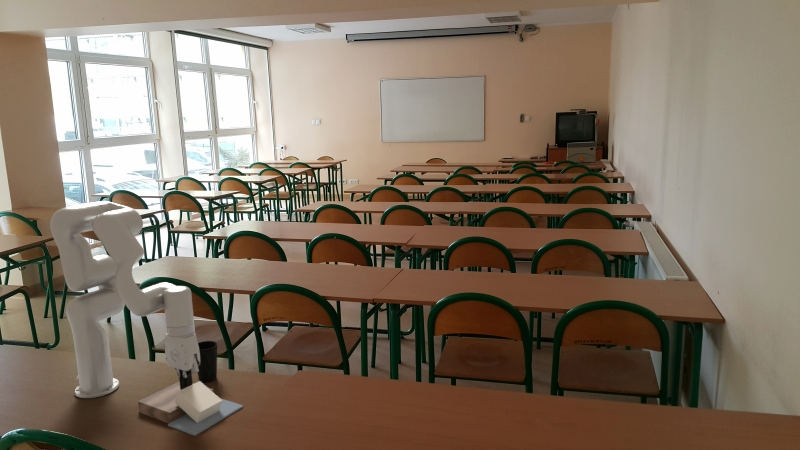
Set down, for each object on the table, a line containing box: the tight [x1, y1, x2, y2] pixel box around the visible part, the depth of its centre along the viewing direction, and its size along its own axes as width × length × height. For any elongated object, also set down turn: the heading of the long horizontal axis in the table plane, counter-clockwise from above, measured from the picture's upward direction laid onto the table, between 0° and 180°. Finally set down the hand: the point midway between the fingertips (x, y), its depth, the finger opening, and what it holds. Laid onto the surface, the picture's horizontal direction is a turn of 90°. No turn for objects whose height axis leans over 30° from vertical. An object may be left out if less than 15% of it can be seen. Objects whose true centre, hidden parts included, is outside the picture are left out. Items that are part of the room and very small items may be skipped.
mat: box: [167, 397, 244, 437], centre depth 168 cm, size 11×18×1 cm, turn 150°
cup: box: [197, 340, 218, 384], centre depth 190 cm, size 8×8×12 cm
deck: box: [137, 381, 215, 424], centre depth 173 cm, size 14×16×4 cm
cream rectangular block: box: [175, 380, 222, 423], centre depth 167 cm, size 10×8×4 cm
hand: (186, 388), depth 170 cm, fingers closed
